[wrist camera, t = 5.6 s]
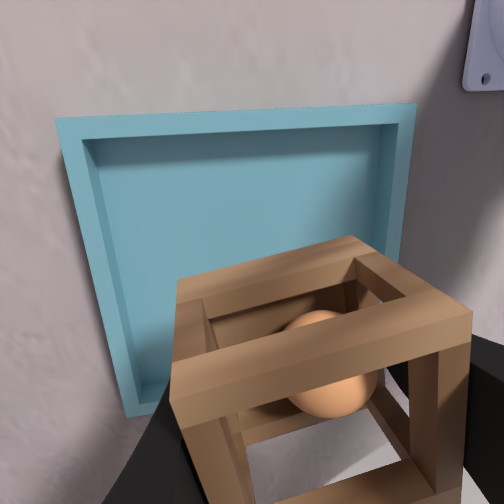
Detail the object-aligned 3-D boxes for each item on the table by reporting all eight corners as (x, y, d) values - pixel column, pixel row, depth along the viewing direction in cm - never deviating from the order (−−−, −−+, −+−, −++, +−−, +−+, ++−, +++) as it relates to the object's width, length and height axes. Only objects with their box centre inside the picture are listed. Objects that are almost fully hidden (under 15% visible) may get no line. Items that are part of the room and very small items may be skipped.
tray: (392, 105, 16) (417, 102, 15) (368, 354, 22) (384, 375, 20) (71, 119, 14) (53, 117, 12) (132, 391, 20) (126, 418, 18)
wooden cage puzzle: (351, 234, 11) (472, 311, 6) (363, 371, 13) (460, 503, 8) (177, 279, 10) (169, 400, 6) (220, 414, 12) (239, 582, 8)
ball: (311, 285, 11) (397, 308, 9) (320, 357, 12) (400, 395, 10) (245, 326, 10) (332, 368, 7) (262, 407, 10) (343, 466, 8)
